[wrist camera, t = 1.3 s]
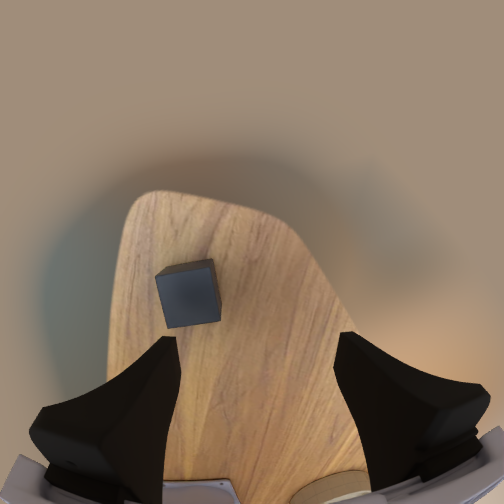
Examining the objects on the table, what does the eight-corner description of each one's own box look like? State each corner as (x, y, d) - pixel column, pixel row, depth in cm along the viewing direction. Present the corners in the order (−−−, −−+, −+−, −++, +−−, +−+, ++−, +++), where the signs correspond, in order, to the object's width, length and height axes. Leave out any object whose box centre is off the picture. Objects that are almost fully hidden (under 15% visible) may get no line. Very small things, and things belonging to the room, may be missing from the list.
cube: (176, 311, 21) (167, 329, 17) (166, 266, 20) (154, 276, 17) (221, 304, 21) (221, 321, 18) (212, 258, 21) (210, 266, 17)
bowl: (292, 519, 26) (297, 537, 22) (286, 486, 25) (292, 509, 21) (365, 497, 27) (374, 514, 23) (374, 459, 25) (386, 479, 21)
